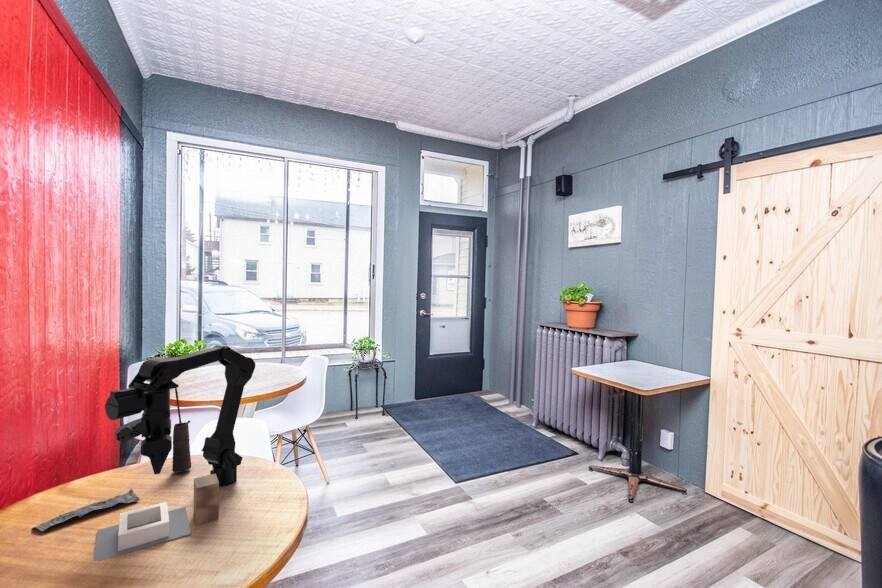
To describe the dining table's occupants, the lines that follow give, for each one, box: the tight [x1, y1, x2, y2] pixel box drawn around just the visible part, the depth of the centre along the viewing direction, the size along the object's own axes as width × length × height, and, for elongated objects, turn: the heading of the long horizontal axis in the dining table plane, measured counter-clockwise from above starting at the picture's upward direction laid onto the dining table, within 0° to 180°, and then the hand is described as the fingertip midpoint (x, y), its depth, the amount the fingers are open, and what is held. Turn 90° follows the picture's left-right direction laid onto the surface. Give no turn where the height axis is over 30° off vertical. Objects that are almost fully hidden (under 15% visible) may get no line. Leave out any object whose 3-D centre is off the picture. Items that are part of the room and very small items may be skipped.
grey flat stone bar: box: [33, 488, 140, 532], centre depth 105 cm, size 21×7×2 cm, turn 144°
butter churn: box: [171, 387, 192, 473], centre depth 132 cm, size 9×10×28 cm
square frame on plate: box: [92, 501, 192, 562], centre depth 97 cm, size 18×14×4 cm
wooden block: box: [193, 473, 220, 526], centre depth 105 cm, size 5×6×10 cm
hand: (157, 466), depth 105 cm, fingers open, 9 cm apart
